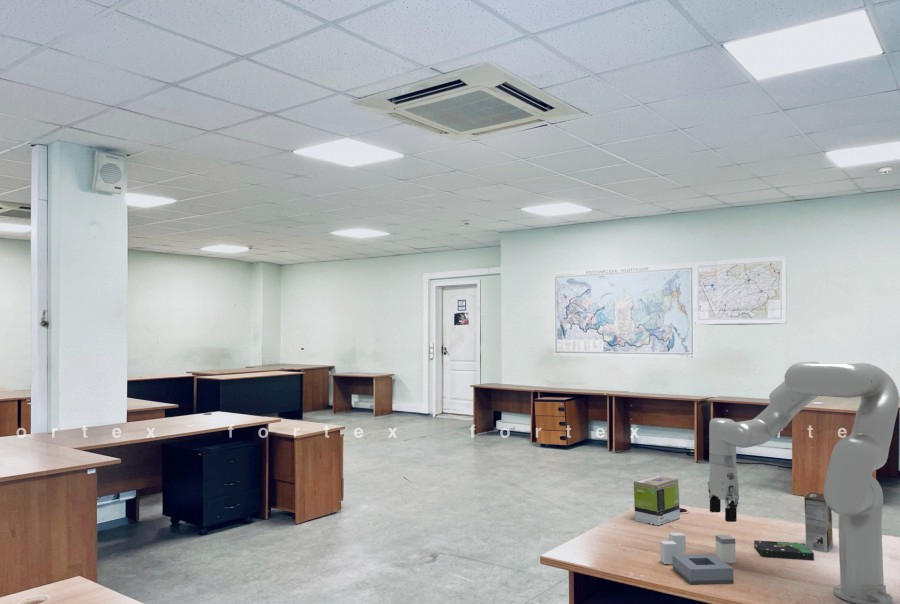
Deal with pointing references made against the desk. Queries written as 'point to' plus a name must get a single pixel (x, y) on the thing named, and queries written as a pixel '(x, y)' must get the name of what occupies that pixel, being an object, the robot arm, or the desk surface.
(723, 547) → the block
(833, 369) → the robot arm
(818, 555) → the desk surface
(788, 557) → the disk drive
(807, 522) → the coffee box
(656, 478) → the tea box
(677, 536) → the pale grey post pair
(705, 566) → the holder
